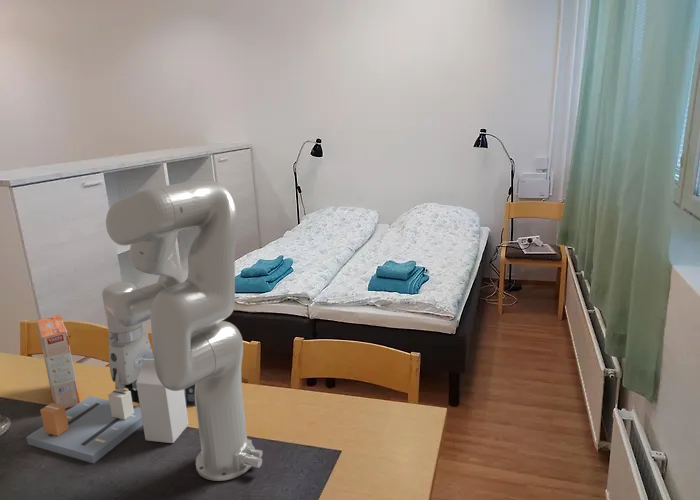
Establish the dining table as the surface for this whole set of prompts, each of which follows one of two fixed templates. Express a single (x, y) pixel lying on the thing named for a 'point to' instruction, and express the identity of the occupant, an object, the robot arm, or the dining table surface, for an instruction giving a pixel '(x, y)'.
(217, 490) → the dining table surface
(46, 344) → the cracker box
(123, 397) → the cream knob
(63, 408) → the orange fader knob
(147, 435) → the milk carton
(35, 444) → the fader console
